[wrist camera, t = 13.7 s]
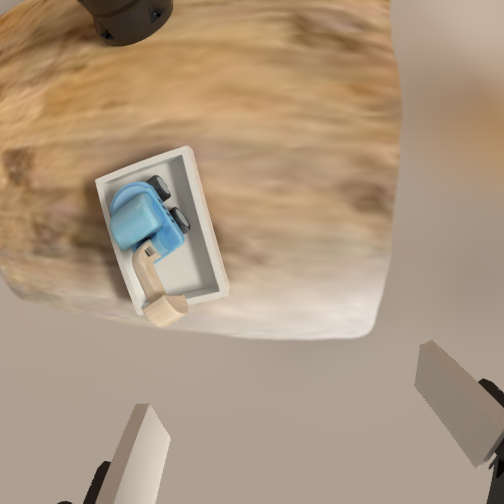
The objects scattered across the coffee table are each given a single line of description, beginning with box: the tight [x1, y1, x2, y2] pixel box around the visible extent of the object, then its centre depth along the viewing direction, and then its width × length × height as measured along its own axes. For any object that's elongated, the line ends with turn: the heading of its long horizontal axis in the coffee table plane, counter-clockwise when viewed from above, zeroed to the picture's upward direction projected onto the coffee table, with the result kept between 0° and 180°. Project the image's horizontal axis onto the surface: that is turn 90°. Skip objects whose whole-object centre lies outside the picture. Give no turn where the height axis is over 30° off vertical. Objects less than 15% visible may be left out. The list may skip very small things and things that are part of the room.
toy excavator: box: [110, 175, 191, 327], centre depth 32 cm, size 9×17×17 cm, turn 31°
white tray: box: [95, 146, 230, 316], centre depth 40 cm, size 22×15×6 cm
